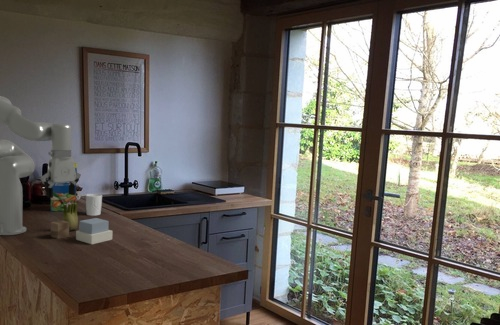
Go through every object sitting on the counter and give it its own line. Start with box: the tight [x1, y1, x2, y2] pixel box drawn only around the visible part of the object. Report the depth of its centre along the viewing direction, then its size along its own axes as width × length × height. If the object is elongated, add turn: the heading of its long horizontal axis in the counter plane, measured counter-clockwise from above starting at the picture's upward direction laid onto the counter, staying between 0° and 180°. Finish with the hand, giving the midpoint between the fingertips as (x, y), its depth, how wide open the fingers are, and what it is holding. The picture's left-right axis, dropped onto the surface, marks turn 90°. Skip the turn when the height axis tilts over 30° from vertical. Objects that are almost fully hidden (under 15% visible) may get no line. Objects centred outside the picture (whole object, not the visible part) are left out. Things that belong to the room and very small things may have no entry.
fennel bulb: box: [62, 202, 79, 232], centre depth 189 cm, size 6×5×12 cm
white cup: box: [85, 193, 103, 217], centre depth 221 cm, size 8×8×10 cm
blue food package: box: [50, 162, 78, 212], centre depth 226 cm, size 6×12×25 cm, turn 111°
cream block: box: [75, 229, 114, 245], centre depth 177 cm, size 10×10×4 cm
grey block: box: [78, 217, 109, 234], centre depth 177 cm, size 8×8×4 cm
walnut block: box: [50, 220, 70, 240], centre depth 178 cm, size 5×5×6 cm
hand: (61, 196), depth 177 cm, fingers open, 9 cm apart
